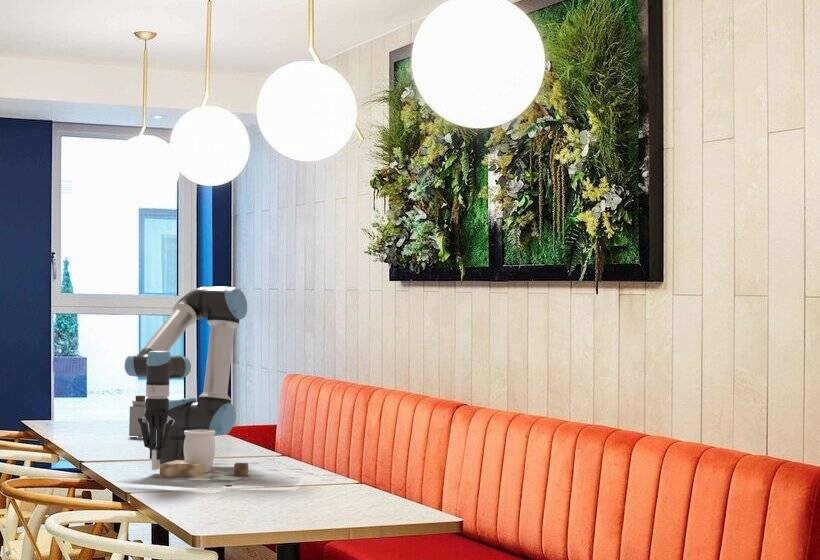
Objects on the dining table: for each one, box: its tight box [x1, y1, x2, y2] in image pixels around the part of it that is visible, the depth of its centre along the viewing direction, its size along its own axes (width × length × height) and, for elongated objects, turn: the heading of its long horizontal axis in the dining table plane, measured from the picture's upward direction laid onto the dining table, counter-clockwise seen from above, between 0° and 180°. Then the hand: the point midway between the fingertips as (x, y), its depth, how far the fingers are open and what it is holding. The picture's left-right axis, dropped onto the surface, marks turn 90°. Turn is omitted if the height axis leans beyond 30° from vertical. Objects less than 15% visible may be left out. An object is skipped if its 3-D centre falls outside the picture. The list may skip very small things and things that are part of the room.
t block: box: [159, 460, 205, 478], centre depth 365 cm, size 12×12×4 cm
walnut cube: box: [233, 462, 249, 478], centre depth 367 cm, size 4×4×4 cm
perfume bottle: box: [128, 394, 150, 437], centre depth 484 cm, size 7×7×18 cm
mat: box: [153, 471, 253, 488], centre depth 363 cm, size 27×18×1 cm, turn 74°
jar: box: [184, 429, 216, 472], centre depth 378 cm, size 11×10×15 cm
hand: (155, 469), depth 368 cm, fingers closed
